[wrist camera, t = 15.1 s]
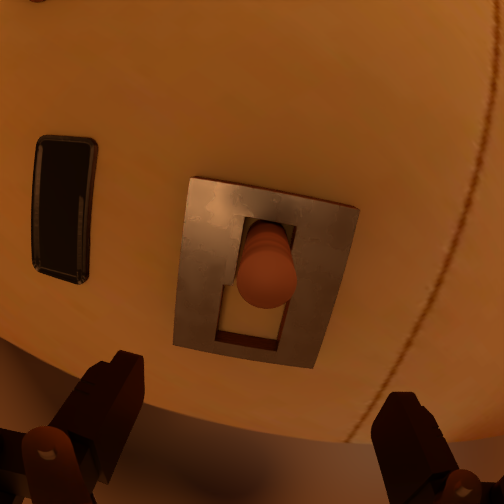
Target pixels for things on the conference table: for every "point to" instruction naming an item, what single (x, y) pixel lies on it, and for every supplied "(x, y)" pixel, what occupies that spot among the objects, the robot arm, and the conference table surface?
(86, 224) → the phone
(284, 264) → the peg
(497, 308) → the conference table surface
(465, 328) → the conference table surface
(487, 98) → the conference table surface
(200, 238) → the keyhole plate
